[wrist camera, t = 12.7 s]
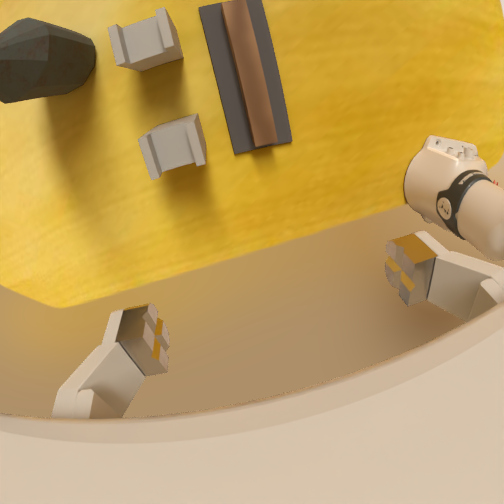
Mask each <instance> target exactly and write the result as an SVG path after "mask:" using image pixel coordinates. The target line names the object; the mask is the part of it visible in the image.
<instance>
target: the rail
mask: <svg viewBox="0 0 504 504" xmlns="http://www.w3.org/2000/svg"><path fill="white" fill-rule="evenodd" d="M221 11H222V15H223V19H224V23H225V27H226V31H227V35H228V39H229V43H230V47H231V51H232V55H233V60H234V64H235V68H236V72H237V76H238V80H239V85H240V89H241V93H242V98H243V102H244V106H245V111H246V115H247V119H248V124H249V128H250V133H251V137H252V142H253V144H254V145H255V146H256V147H257V146H262V145H266V144H271V143H275V142H278V140H277V135H276V130H275V125H274V120H273V115H272V110H271V105H270V100H269V96H268V91H267V86H266V82H265V77H264V73H263V68H262V64H261V60H260V55H259V51H258V47H257V43H256V39H255V35H254V31H253V26H252V23H251V19H250V15H249V11H248V7H247V3H246V0H235V1H229V2H223V3H222V4H221Z"/></svg>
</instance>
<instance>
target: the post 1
mask: <svg viewBox="0 0 504 504" xmlns="http://www.w3.org/2000/svg"><path fill="white" fill-rule="evenodd" d="M155 11H156V15H157V16H154V17H151V18H148V19H145V20H142V21H139V22H137V23H134V24H131V25H129V26H126V27H124V28H121V27H120V26H118V25H117V24H116V25H113V26H111V27H109V28H108V31H109V36H110V40H111V44H112V49H113V53H114V57H115V61H116V65H117V66H121V67H125V68H129V69H133V70H137V71H144V70H147V69H150V68H153V67H156V66H159V65H162V64H165V63H168V62H171V61H175V60H178V59H181V58H183V54H182V50H181V46H180V42H179V38H178V34H177V30H176V28H175V26H174V24H173V22H172V20H171V18H170V16H169V14H168V13H167V11H166V9H165V7H163V8H160V9H157V10H155Z"/></svg>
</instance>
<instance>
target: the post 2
mask: <svg viewBox="0 0 504 504" xmlns="http://www.w3.org/2000/svg"><path fill="white" fill-rule="evenodd" d="M138 142H139V145H140V148H141V151H142V154H143V157H144V160H145V163H146V166H147V169H148V172H149V175H150V178H151V180H154V179H157V178H160V176H161V174H162V172H164V171H167V170H170V169H173V168H177V167H180V166H183V165H187V164H190V163H194V162H196V165H197V166H200V165H204V164H206V142H205V138H204V134H203V131H202V127H201V123H200V119H199V116H198V113H197V114H193V115H190V116H186V117H183V118H180V119H176V120H173V121H170V122H167V123H164V124H160V125H157V126H155V127H154V128H153V129H151V130H150V131H149V132H147V133H146V134H144V135H143V136H142V137H140V138H139V139H138Z"/></svg>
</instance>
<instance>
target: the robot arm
mask: <svg viewBox="0 0 504 504" xmlns="http://www.w3.org/2000/svg"><path fill="white" fill-rule="evenodd" d="M436 142H437V143H436ZM404 191H405V197H406V200H407V202H408V204H409V206H410V207H411V208H412V209H413V210H415V211H416V212H418V213H420V214H421V216H422V217H423V219H424V220H425V221H426V222H427V223H432V222H434V223H435V224H437V225H438V226H440V227H442V228H443V229H445V230H446V231H449V232H451V231H452V232H453V234H455V235H456V236H457V237H460V238H461V239H463V240H467V241H468V242H469V243H471V244H472V245H473V246H474V247H475V248H476V249H477V250H479V251H480V252H481V253H482V254H483V255H484V256H486V257H487V258H488V259H490V260H493V261H502V260H504V189H503V188H501V187H499V186H498V183H497V184H496V185H495V181H494V182H492V181H491V180H490V179H489V178H488V171H487V166H486V163H485V161H484V160H482V159H481V158H479V157H478V152H477V149H476V146H475V145H473V144H471V143H468V142H463V141H459V140H454V139H449V138H444V137H439V136H433V135H430V136H429V137H428V138H427V140H426V142H425V144H424V146H423V148H422V150H421V151H420V152H419V153H418V154H417V155H416V156H415V157H414V159H413V160H412V162H411V163H410V165H409V167H408V170H407V173H406V176H405V183H404ZM386 252H387V253H388V255H389V257H388V258H387V260H386V262H385V272H386V276H387V279H388V281H389V283H390V284H391V285H392V286H393V287H395V288H397V289H399V296H400V297H401V298H402V300H403V301H404V302H405V304H406V305H407V306H411V305H414V304H416V303H419V302H422V301H424V300H427V301H429V302H431V303H432V304H434V305H436V306H438V307H440V308H442V309H443V310H445V311H447V312H449V313H451V314H452V315H454V316H456V317H458V318H460V319H461V320H463V321H465V322H466V323H464V324H462V325H460V326H458V327H456V328H455V329H453V330H451V331H449V332H447V333H445V334H443V335H441V336H439V337H437V338H435V339H432V340H431V341H428V342H426V343H424V344H422V345H420V346H417V347H415V348H413V349H411V350H408V351H406V352H404V353H401V354H399V355H397V356H394V357H392V358H389V359H387V360H385V361H382V362H379V363H377V364H374V365H372V366H369V367H366V368H364V369H361V370H358V371H355V372H352V373H349V374H347V375H344V376H341V377H338V378H335V379H331V380H328V381H325V382H322V383H319V384H315V385H312V386H309V387H305V388H302V389H298V390H295V391H291V392H287V393H283V394H279V395H275V396H271V397H267V398H262V399H258V400H253V401H249V402H244V403H239V404H234V405H229V406H223V407H218V408H212V409H205V410H199V411H192V412H185V413H176V414H167V415H159V416H147V417H134V418H122V416H123V415H124V413H125V411H126V410H127V408H128V406H129V405H130V403H131V401H132V400H133V398H134V396H135V394H136V393H137V391H138V390H139V388H140V386H141V384H142V383H143V381H144V380H145V376H150V375H156V374H161V373H167V372H168V358H169V357H168V355H167V354H166V350H167V349H168V348H169V342H170V339H169V333H168V330H167V327H166V325H165V323H164V321H163V320H161V319H159V318H157V315H158V311H157V309H156V307H155V306H154V304H151V303H149V304H144V305H139V306H134V307H129V308H126V309H120V310H116V311H113V312H112V313H111V315H110V318H109V321H108V325H107V328H106V331H105V335H104V338H103V342H102V345H99V346H97V347H96V349H95V350H94V351H93V352H92V353H91V354H90V355H89V356H88V357H87V358H86V360H85V361H84V362H83V363H82V364H81V365H80V366H79V367H78V368H77V369H76V371H75V372H74V373H73V374H72V375H71V376H70V377H69V378H68V380H67V381H66V382H65V383H64V384H63V385H62V386H61V387H60V389H59V390H58V393H57V397H56V401H55V404H54V408H53V412H52V416H51V418H44V417H31V416H21V415H12V414H5V413H0V504H504V268H503V267H500V266H497V265H494V264H491V263H488V262H485V261H482V260H479V259H476V258H473V257H470V256H467V255H464V254H461V253H457V252H454V251H451V252H449V251H448V250H447V249H446V248H445V247H443V246H442V245H441V244H440V243H439V242H438V241H437V240H435V239H434V238H433V237H432V236H431V235H430V234H428V233H427V232H426V231H423V230H420V231H417V232H414V233H411V234H410V235H407V236H404V237H400V238H397V239H393V240H390V241H388V242H387V245H386Z"/></svg>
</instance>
